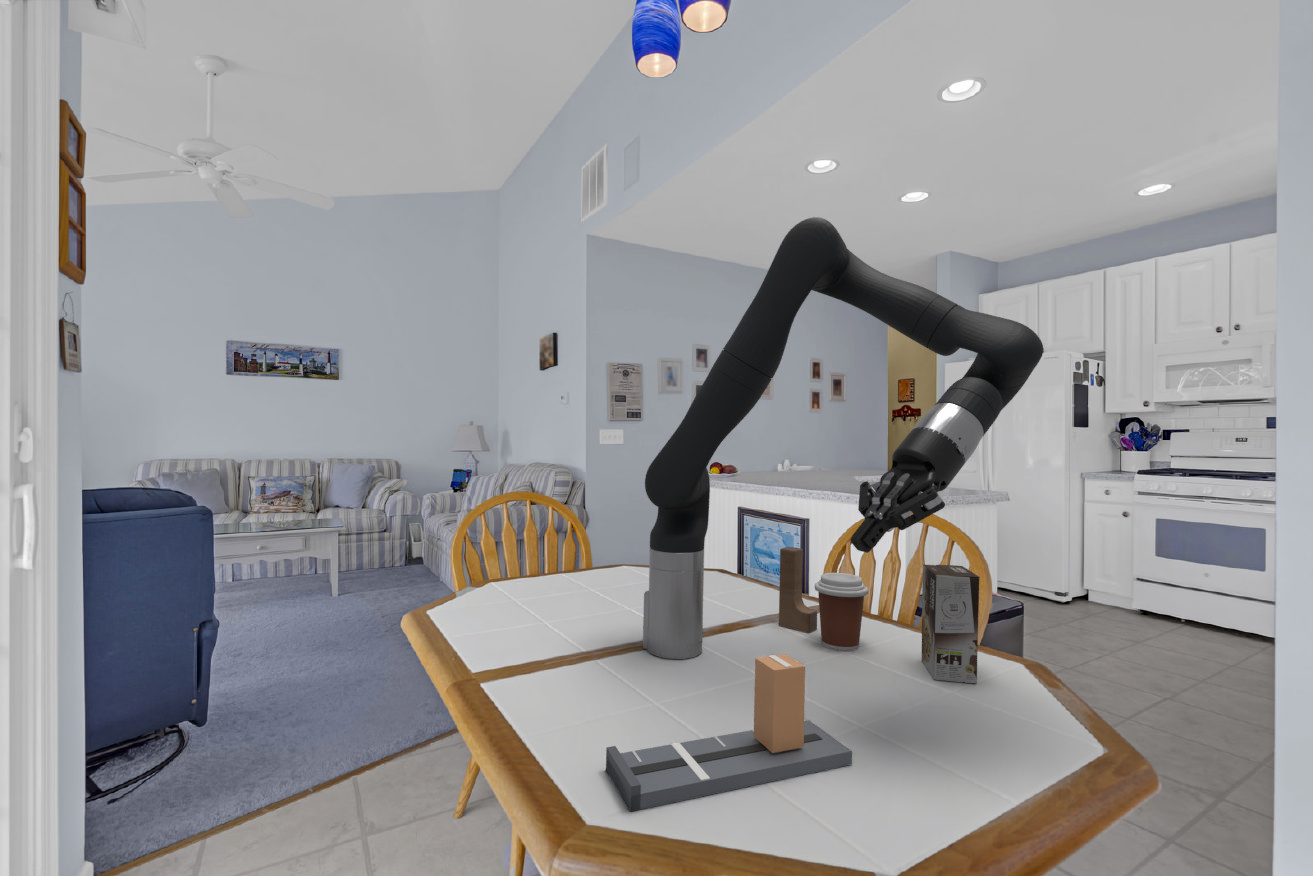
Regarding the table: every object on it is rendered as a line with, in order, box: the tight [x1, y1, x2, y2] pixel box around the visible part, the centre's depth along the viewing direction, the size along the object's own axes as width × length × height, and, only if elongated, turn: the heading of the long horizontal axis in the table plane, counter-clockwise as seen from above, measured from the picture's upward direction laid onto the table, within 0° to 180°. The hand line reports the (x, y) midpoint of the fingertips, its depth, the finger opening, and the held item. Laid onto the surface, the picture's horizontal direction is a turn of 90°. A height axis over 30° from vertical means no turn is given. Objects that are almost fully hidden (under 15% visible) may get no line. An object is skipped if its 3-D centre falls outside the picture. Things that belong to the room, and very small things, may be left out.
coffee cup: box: [814, 572, 869, 652], centre depth 110 cm, size 9×9×12 cm
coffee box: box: [921, 564, 980, 684], centre depth 98 cm, size 9×6×16 cm
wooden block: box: [778, 546, 818, 634], centre depth 119 cm, size 7×3×15 cm, turn 48°
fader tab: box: [753, 653, 806, 753], centre depth 70 cm, size 4×4×9 cm
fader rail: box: [605, 719, 853, 813], centre depth 68 cm, size 26×8×2 cm, turn 112°
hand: (858, 547), depth 75 cm, fingers closed
